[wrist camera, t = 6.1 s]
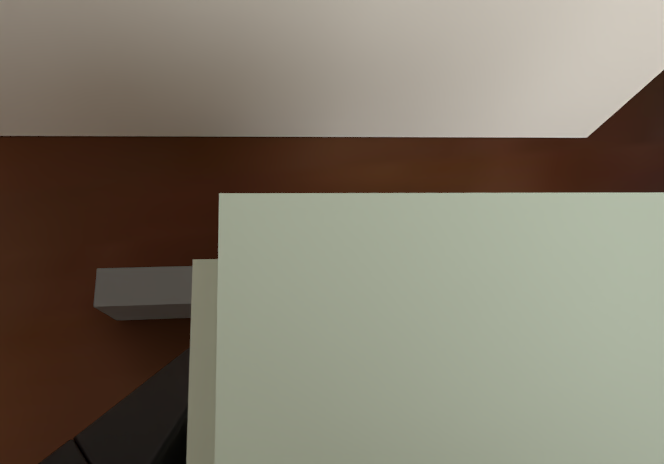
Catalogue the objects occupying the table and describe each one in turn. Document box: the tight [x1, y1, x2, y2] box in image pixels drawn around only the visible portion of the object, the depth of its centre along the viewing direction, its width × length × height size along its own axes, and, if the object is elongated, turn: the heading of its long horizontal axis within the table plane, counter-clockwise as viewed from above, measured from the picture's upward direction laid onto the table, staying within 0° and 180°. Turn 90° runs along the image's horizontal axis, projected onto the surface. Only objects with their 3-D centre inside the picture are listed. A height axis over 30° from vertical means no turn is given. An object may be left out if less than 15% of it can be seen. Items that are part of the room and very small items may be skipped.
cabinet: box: [186, 193, 664, 464], centre depth 10 cm, size 5×5×12 cm
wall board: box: [0, 0, 664, 320], centre depth 16 cm, size 9×24×10 cm, turn 93°
